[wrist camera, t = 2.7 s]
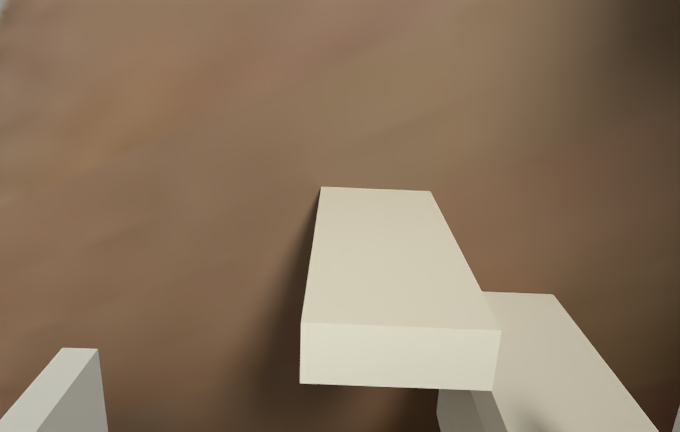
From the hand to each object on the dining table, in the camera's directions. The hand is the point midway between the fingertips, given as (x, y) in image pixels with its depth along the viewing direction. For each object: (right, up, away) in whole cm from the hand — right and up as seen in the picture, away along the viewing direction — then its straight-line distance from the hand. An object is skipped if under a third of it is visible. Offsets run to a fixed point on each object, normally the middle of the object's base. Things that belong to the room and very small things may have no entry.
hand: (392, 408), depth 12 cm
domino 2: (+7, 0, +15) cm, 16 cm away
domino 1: (0, +5, +13) cm, 14 cm away
